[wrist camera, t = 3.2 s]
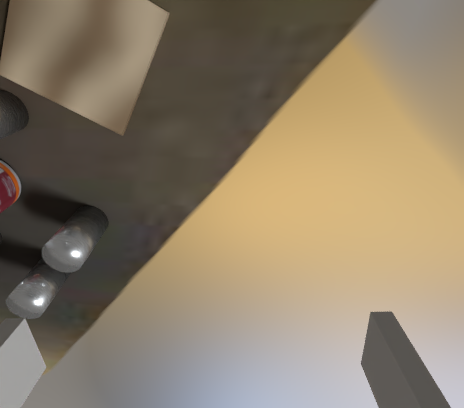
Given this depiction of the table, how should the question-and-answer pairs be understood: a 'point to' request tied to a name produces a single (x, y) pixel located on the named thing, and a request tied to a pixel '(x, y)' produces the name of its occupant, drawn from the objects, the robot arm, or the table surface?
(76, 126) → the table surface
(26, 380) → the robot arm
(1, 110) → the cylinder
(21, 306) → the grey cylinder
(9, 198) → the pill bottle
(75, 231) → the cylinder
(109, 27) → the coaster
